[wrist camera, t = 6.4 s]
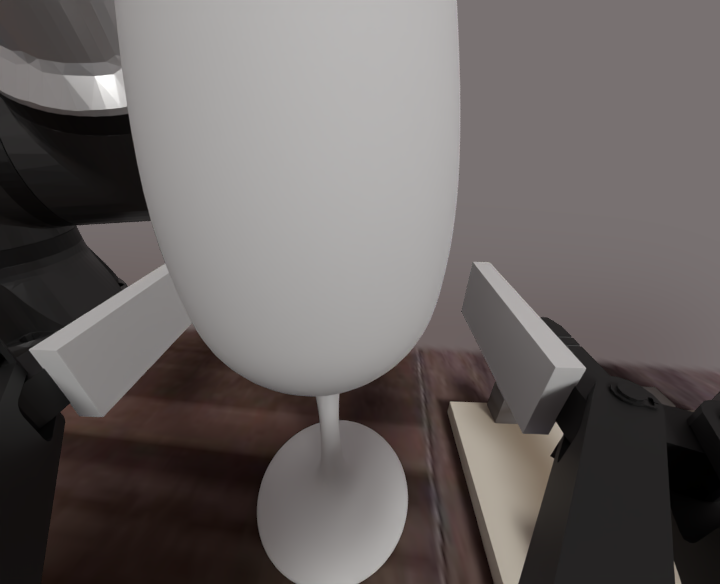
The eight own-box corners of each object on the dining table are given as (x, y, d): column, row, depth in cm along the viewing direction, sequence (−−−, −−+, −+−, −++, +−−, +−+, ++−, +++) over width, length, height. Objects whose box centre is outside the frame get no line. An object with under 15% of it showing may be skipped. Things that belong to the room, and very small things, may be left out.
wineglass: (430, 466, 18) (541, 17, 7) (352, 651, 11) (333, -865, 1) (324, 402, 22) (297, 57, 11) (224, 511, 15) (-53, -43, 5)
